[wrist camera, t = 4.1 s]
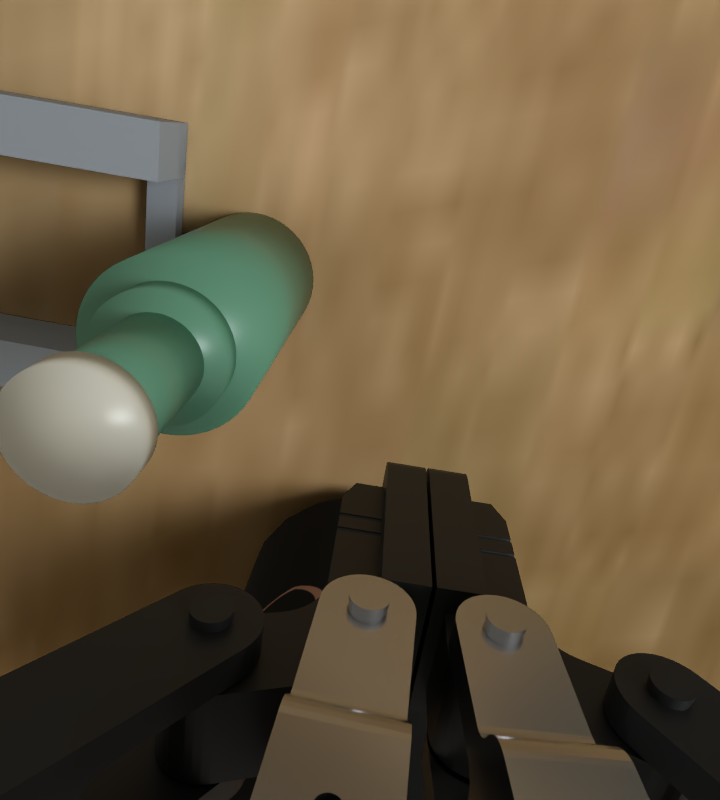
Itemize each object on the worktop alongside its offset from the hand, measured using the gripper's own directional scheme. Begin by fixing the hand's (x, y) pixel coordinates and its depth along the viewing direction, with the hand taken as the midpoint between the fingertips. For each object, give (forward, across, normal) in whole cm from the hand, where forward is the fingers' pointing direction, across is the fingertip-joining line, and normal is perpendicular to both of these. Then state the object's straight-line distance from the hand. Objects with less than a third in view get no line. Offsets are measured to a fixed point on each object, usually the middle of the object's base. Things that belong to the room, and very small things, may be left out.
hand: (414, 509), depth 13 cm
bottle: (+16, +7, 0) cm, 17 cm away
